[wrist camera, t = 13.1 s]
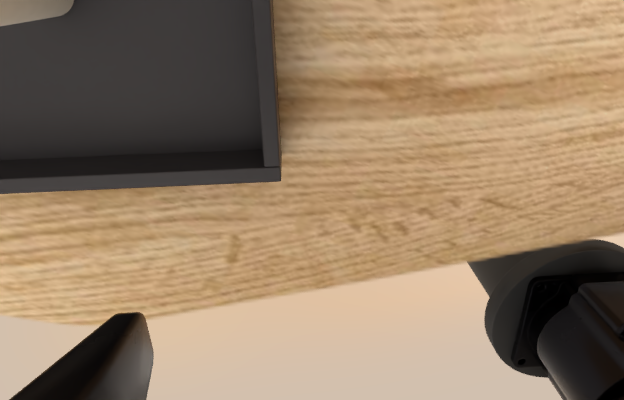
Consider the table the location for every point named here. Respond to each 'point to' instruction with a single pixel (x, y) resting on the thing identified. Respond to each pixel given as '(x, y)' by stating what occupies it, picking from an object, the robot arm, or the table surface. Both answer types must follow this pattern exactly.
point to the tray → (140, 96)
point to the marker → (31, 10)
